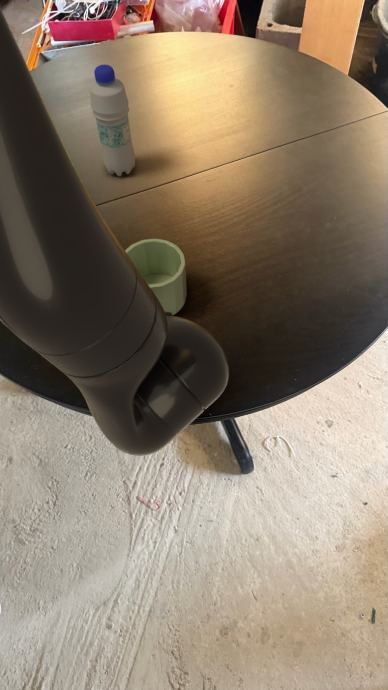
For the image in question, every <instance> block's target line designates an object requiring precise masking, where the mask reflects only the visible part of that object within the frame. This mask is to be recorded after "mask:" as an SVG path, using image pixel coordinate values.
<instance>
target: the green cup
mask: <svg viewBox="0 0 388 690" xmlns="http://www.w3.org/2000/svg"><path fill="white" fill-rule="evenodd" d="M124 250H125V251H126V253H127V254H128V256H129V257H130V259H131V260H132V262H133V263H134V265H135V266H136V268H137V269H138V271H139V272H140V273H141V275H142V276H143V278H144V279H145V281H146V282H147V284H148V285H149V287H150V288H151V289H152V291H153V292H154V294H155V295H156V297H157V298H158V300H159V302H160V303H161V305H162V307H163V309H164V311H165V312H171V313H172V316H174V315H175V314H177V313H178V312H180V311H181V310H182V309H183V307H184V305H185V303H186V301H187V294H188V293H187V291H188V290H187V271H186V260H185V254H184V253H183V251H182V250H181V249H180V248H179V246H178V245H176V244H175V243H173V242H171V241H170V240H166V239H160V238H149V239H148V238H147V239H142V240H139V241H137V242H135V243H132V244H130V245H129V246H128V247H127V248H126V249H124Z"/></svg>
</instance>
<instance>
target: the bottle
mask: <svg viewBox="0 0 388 690" xmlns="http://www.w3.org/2000/svg"><path fill="white" fill-rule="evenodd" d="M89 95H90V108H91V110H92V115H93V117H94V118H95V121H96V126H97V131H98V135H99V137H98V138H99V142H100V147H101V154H102V161H103V164H104V167H105V169H106V170H107V173H109V174H110V175H114V174H116V176H117V177H121V176H122V175H123V173H125V174H126V175H128V174H129V175H130V173H131V172H132V170H133V169H135V166H136V155H135V150H134V149H135V148H134V145H133V141H132V134H131V133H132V132H131V126H130V118H129V112H130V107H129V99H128V96H127V92H126V88H125V85H124V82H122V81H121V80H120V79H118V78H116V74H115V70H114V68H113V67H112V65H110V64H100V65H97V66H96V67H95V69H94V81H93V82H92V83H91V84H90V86H89Z"/></svg>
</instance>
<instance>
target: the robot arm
mask: <svg viewBox="0 0 388 690" xmlns="http://www.w3.org/2000/svg"><path fill="white" fill-rule="evenodd" d="M125 250H126V249H124V247H123V246H122V244H121V242H120V241H119V240H118V238H117V237H116V236H115V234H114V232H113V231H112V229H111V228H110V226H109V225H108V223H107V222H106V220H105V218H104V217H103V215H102V213H101V212H100V210H99V207H98V206H97V204H96V203H95V201H94V199H93V197H92V195H91V194H90V192H89V191H88V189H87V187H86V185H85V183H84V180H83V179H82V178H81V175H80V174H79V172H78V170H77V168H76V166H75V164H74V163H73V161H72V158H71V157H70V154H69V153H68V150H67V148H66V146H65V144H64V141H63V139H62V137H61V135H60V133H59V131H58V129H57V127H56V124H55V123H54V120H53V119H52V116H51V114H50V112H49V110H48V108H47V106H46V104H45V102H44V99H43V97H42V95H41V93H40V91H39V89H38V86H37V85H36V82H35V80H34V77H33V75H32V73H31V71H30V69H29V67H28V65H27V62H26V60H25V58H24V55H23V53H22V51H21V49H20V47H19V44H18V42H17V40H16V38H15V36H14V34H13V32H12V30H11V27H10V26H9V23H8V21H7V19H6V17H5V14H4V13H3V10H2V8H1V7H0V322H1V323H2V324H3V325H4V326H5V328H7V329H9V330H10V331H11V332H12V333H13V334H14V335H15V336H16V337H17V338H18V339H20V340H21V341H22V342H23V343H25V344H26V345H27V346H28V347H30V348H31V349H32V350H33V351H35V352H36V353H38V354H39V356H41V357H42V358H44V359H45V360H46V361H47V362H49V363H50V364H51V365H53V366H54V367H55V368H56V369H58V370H59V371H60V372H62V373H63V374H64V375H65V376H66V377H67V378H68V379H69V380H70V381H71V382H73V384H74V385H75V386H76V387H77V388H78V390H79V392H81V395H82V396H83V398H84V400H85V403H86V405H87V407H88V409H89V411H90V413H91V415H92V418H93V419H94V421H95V423H96V425H97V427H98V429H100V431H101V433H102V434H103V436H104V437H105V438H106V439H107V441H109V442H110V444H112V445H113V446H114V447H115V448H116V449H117V450H119V451H121V452H122V453H125V454H128V455H130V456H137V457H142V456H143V457H144V456H148V455H149V456H150V455H152V454H156V453H157V452H160V451H161V450H162V449H164V448H165V447H167V446H168V445H169V444H170V443H171V442H173V440H174V439H175V438H176V437H178V435H180V433H182V432H183V431H184V430H185V429H187V427H188V426H190V425H191V424H192V423H193V422H194V421H195V420H196V419H197V418H198V417H199V416H200V415H201V414H203V412H204V411H205V410H207V409H209V407H210V406H211V405H212V404H214V403H215V402H216V401H217V400H218V399H219V398H220V397H221V396H222V394H223V393H224V392H225V390H226V388H227V387H228V383H229V378H230V364H229V360H228V356H227V353H226V351H225V349H224V348H223V346H222V344H221V343H220V342H219V341H218V339H217V338H216V337H215V335H213V334H212V332H210V331H208V329H206V328H205V327H203V326H202V325H200V324H198V323H197V322H195V321H192V320H190V319H187V318H185V317H181V316H176V315H175V316H174V315H172V313H171V312H165V311H164V309H163V307H162V305H161V303H160V302H159V300H158V298H157V297H156V295H155V294H154V292H153V291H152V289H151V288H150V287H149V285H148V284H147V282H146V281H145V279H144V278H143V276H142V275H141V273H140V272H139V271H138V269H137V268H136V266H135V265H134V263H133V262H132V260H131V259H130V257H129V256H128V254H127V253H126V251H125Z"/></svg>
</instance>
